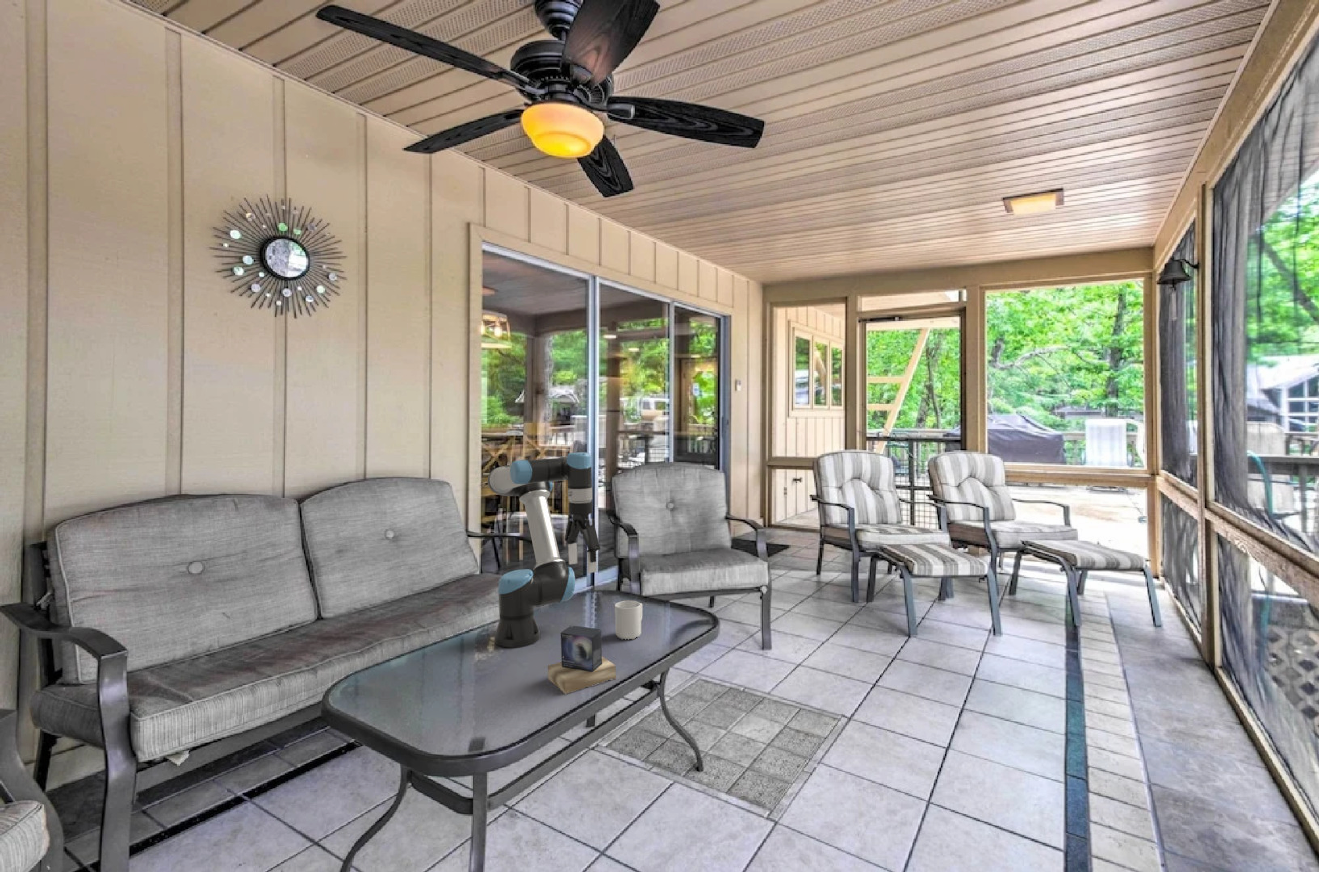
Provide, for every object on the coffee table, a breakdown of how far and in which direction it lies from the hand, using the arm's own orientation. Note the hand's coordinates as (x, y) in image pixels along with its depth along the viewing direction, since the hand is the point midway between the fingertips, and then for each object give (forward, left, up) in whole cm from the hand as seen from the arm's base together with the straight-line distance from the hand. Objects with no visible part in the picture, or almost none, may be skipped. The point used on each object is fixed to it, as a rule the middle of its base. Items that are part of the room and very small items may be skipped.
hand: (582, 567), depth 192 cm
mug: (-8, +22, -29) cm, 37 cm away
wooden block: (+14, -8, -29) cm, 33 cm away
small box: (+14, -8, -25) cm, 30 cm away
